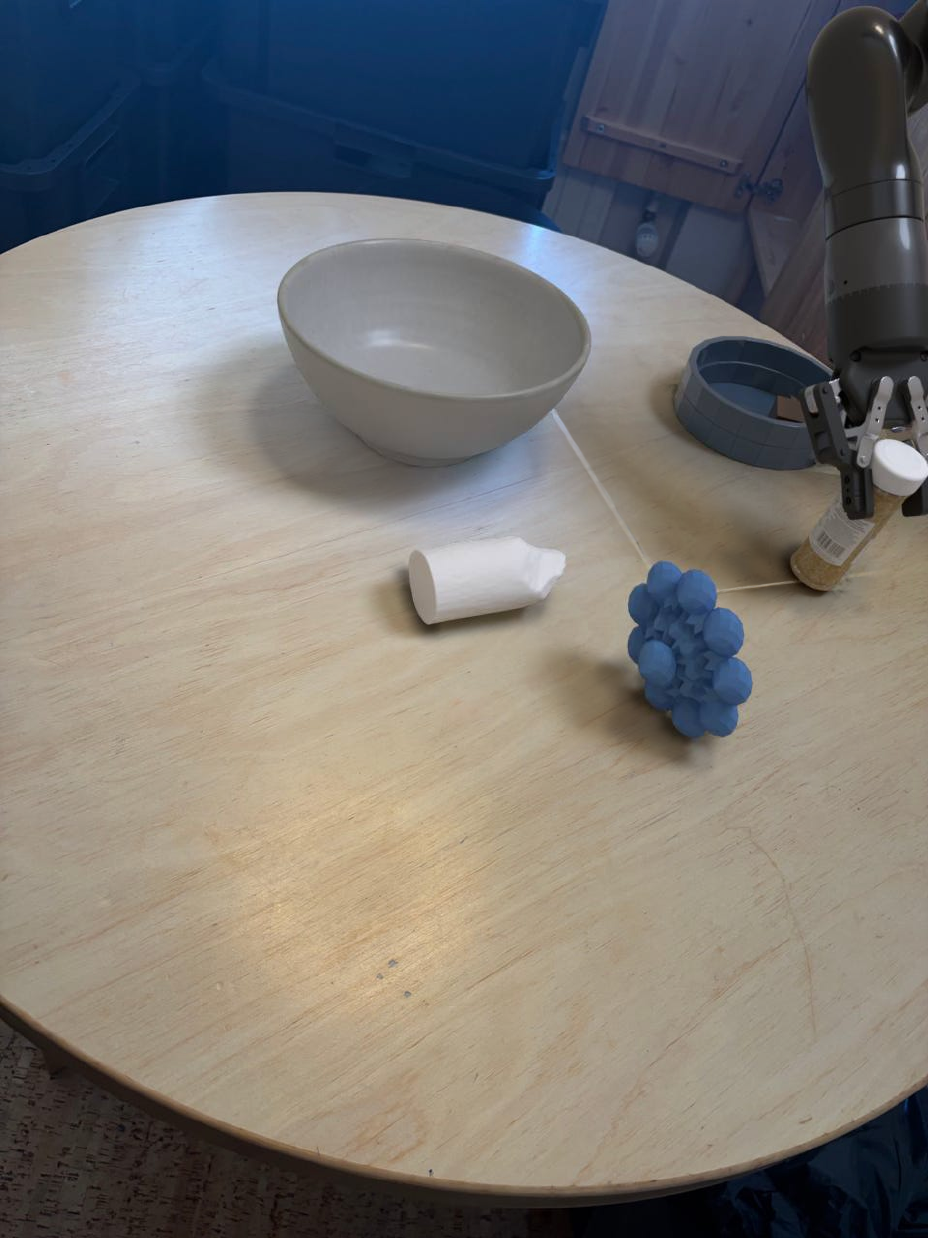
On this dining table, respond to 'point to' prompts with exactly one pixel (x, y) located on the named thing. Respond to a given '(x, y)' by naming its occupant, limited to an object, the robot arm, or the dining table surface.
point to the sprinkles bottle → (846, 539)
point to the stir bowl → (748, 400)
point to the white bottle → (481, 577)
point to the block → (787, 410)
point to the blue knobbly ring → (688, 650)
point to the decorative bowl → (430, 345)
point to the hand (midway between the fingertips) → (888, 516)
